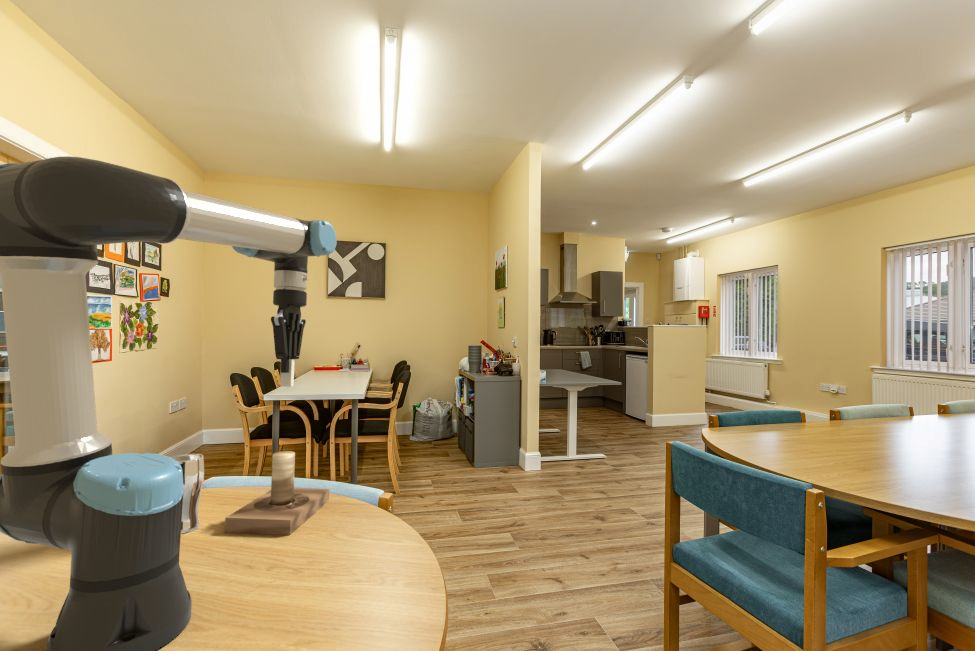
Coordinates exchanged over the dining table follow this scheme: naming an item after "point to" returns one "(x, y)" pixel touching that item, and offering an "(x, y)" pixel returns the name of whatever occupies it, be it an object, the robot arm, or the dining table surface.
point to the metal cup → (191, 489)
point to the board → (277, 513)
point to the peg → (282, 478)
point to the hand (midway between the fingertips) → (286, 386)
